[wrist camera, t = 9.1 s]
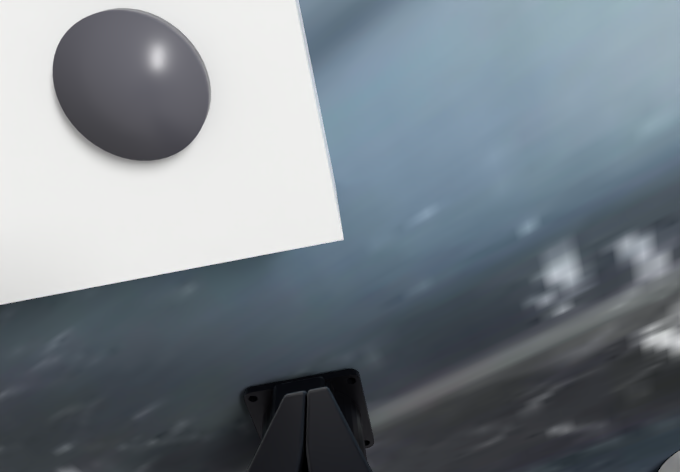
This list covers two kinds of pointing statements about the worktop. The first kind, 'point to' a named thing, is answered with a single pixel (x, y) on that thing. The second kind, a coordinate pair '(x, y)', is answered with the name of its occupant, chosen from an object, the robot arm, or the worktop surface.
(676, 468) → the cylindrical container
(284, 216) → the instrument case
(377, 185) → the worktop surface
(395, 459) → the worktop surface
